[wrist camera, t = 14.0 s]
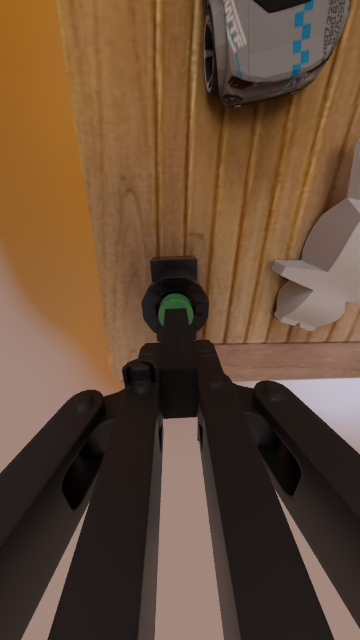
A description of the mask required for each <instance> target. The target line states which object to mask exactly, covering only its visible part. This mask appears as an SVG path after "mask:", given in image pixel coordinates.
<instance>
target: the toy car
mask: <svg viewBox="0 0 360 640" xmlns="http://www.w3.org/2000/svg"><path fill="white" fill-rule="evenodd" d="M350 2H351V0H204V10H205V25H204V44H203V53H204V73H205V83H206V90H207V93H208V95H209V96H213V95H217V94H219V96H220V100H221V103H222V104H223V105H224V106H225V107H229V108H230V107H234V108H238V107H241V106H242V105H246V104H252V103H257V102H261V101H266V100H270V99H274V98H277V97H281V96H285V95H288V94H290V95H292V94H295V93H297V91H299V90H301V89H303V88H305V87H307V86H308V85H309V84H311V83H312V82H313V81H314V79H315V78H316V77H317V75H318V74H319V73H320V71H321V70H322V68H323V67H324V66H325V64H326V63H327V61H328V59H329V57H330V56H331V54H332V52H333V50H334V48H335V46H336V44H337V42H338V40H339V39H340V37H341V34H342V31H343V28H344V25H345V23H346V20H347V17H348V14H349V8H350Z"/></svg>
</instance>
